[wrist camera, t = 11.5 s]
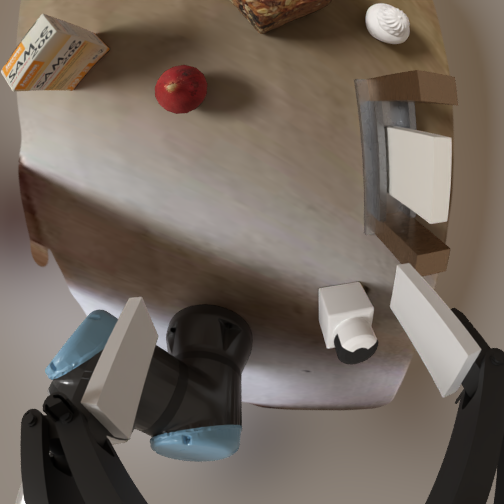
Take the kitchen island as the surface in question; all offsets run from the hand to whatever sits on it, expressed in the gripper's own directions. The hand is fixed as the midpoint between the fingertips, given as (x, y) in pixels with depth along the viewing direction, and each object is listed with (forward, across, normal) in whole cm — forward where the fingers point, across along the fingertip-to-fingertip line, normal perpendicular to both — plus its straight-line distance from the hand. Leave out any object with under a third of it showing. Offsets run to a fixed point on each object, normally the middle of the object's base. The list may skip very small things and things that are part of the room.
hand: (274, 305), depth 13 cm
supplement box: (+25, +21, -23) cm, 40 cm away
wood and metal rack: (+24, -19, -3) cm, 31 cm away
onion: (+25, +7, -14) cm, 29 cm away
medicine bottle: (+25, -12, +21) cm, 35 cm away
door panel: (+23, -19, -3) cm, 30 cm away
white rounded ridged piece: (+24, -19, -22) cm, 38 cm away
